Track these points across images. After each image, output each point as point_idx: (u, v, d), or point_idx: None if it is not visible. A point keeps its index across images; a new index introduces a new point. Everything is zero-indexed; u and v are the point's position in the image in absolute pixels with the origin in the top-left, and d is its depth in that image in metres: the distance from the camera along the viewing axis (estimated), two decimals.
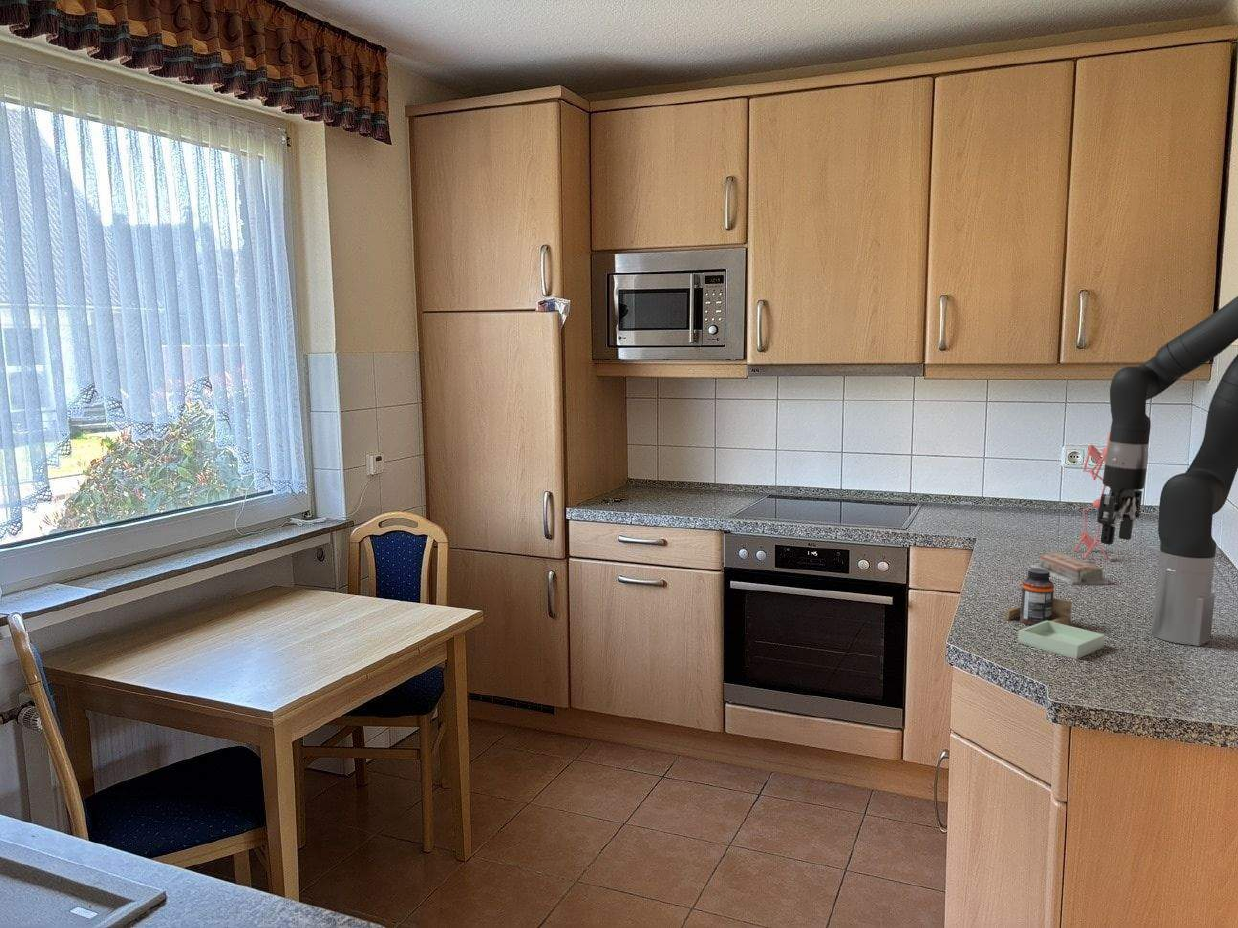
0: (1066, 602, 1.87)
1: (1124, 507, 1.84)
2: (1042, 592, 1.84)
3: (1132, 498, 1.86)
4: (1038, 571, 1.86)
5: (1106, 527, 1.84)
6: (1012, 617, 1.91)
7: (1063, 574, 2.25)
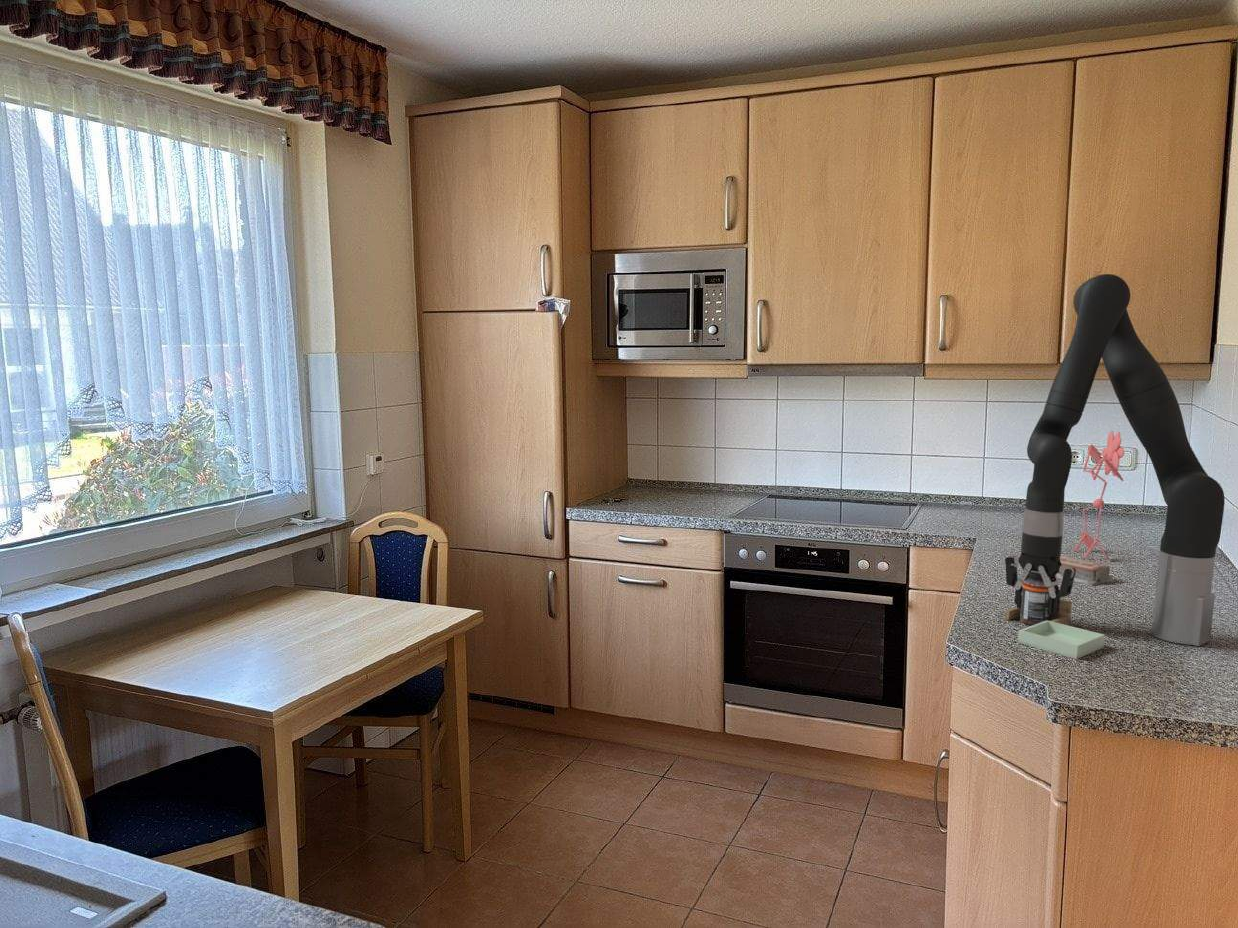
0: (1066, 602, 1.87)
1: None
2: (1042, 592, 1.84)
3: None
4: (1038, 571, 1.86)
5: (1058, 599, 1.84)
6: (1012, 617, 1.91)
7: None
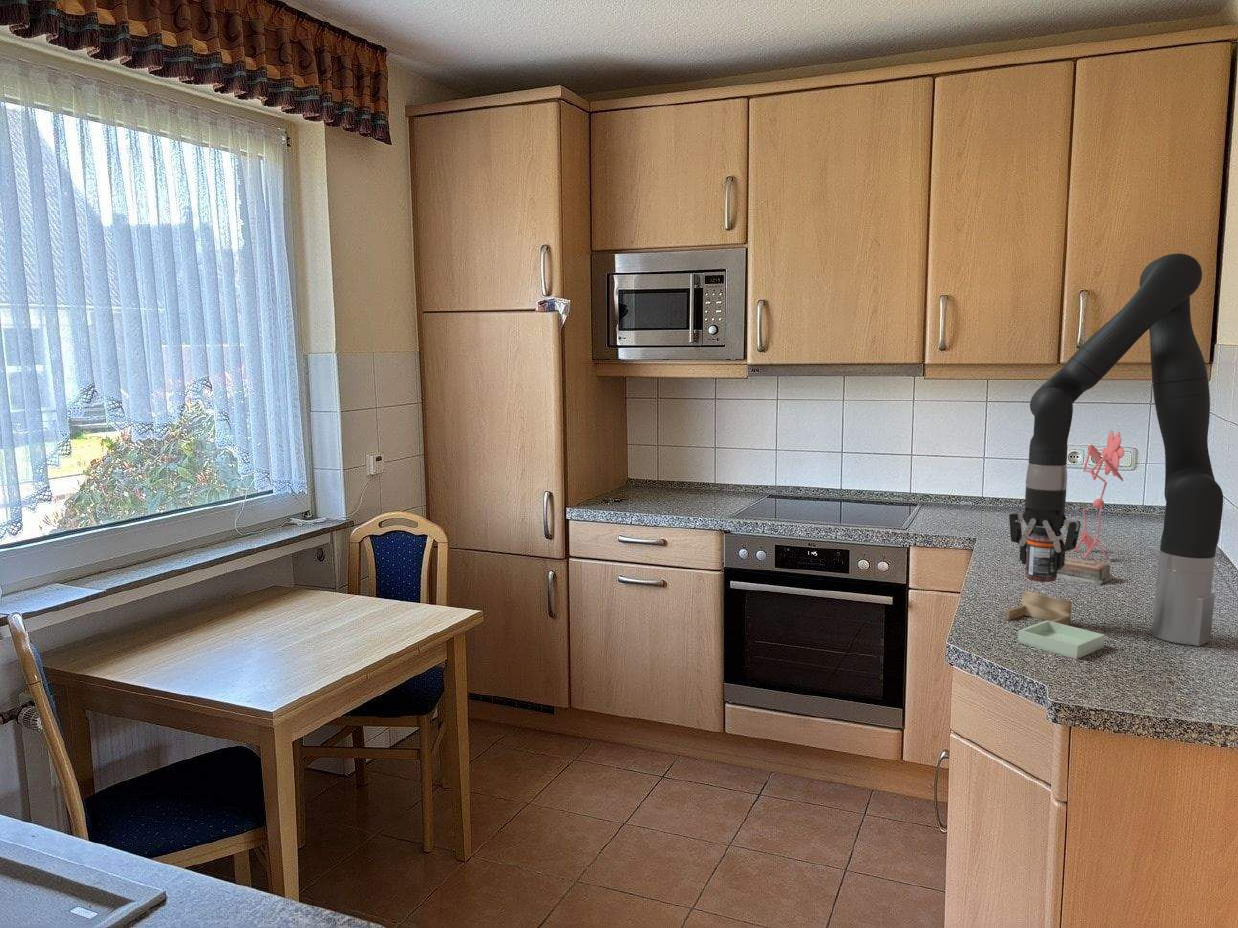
0: (1066, 602, 1.87)
1: None
2: (1047, 547, 1.83)
3: None
4: (1043, 526, 1.84)
5: (1063, 553, 1.83)
6: (1012, 617, 1.91)
7: (1077, 575, 2.24)
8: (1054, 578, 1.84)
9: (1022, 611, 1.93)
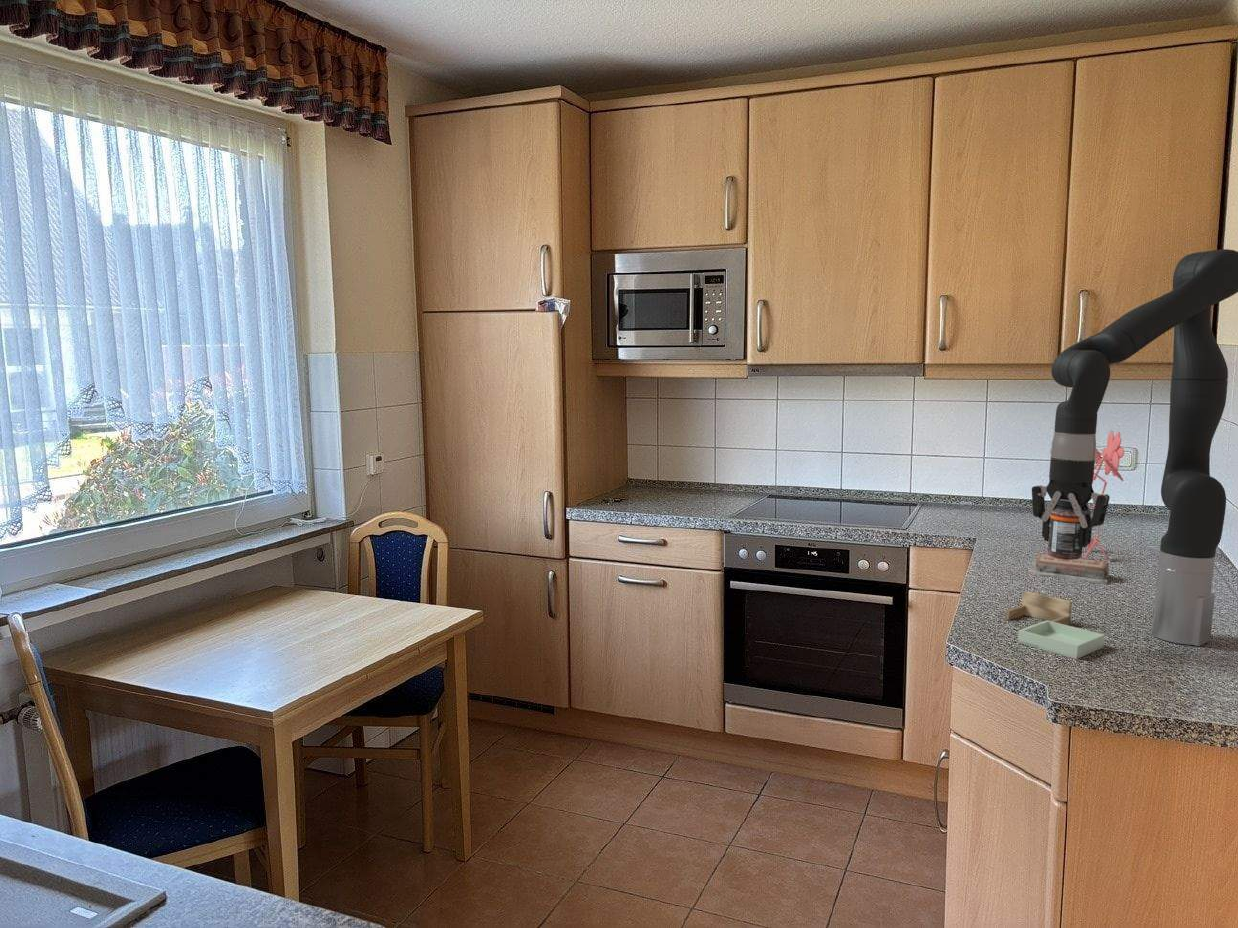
0: (1066, 602, 1.87)
1: None
2: (1073, 522, 1.70)
3: None
4: None
5: (1090, 529, 1.69)
6: (1012, 617, 1.91)
7: (1081, 575, 2.25)
8: (1079, 556, 1.71)
9: (1022, 611, 1.93)
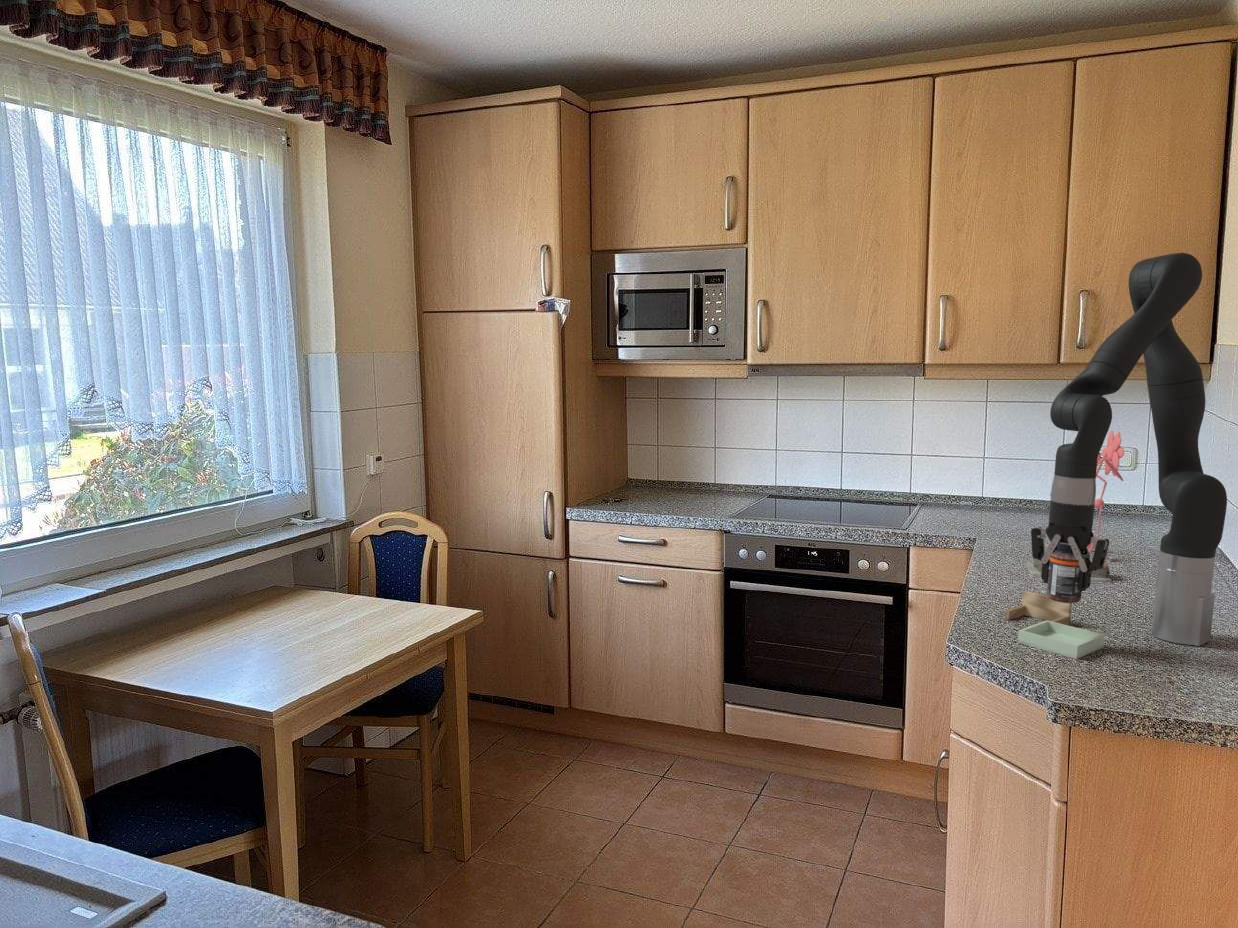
0: None
1: None
2: (1072, 566, 1.69)
3: None
4: (1068, 543, 1.71)
5: (1089, 573, 1.69)
6: (1012, 617, 1.91)
7: None
8: (1078, 599, 1.71)
9: (1022, 611, 1.93)
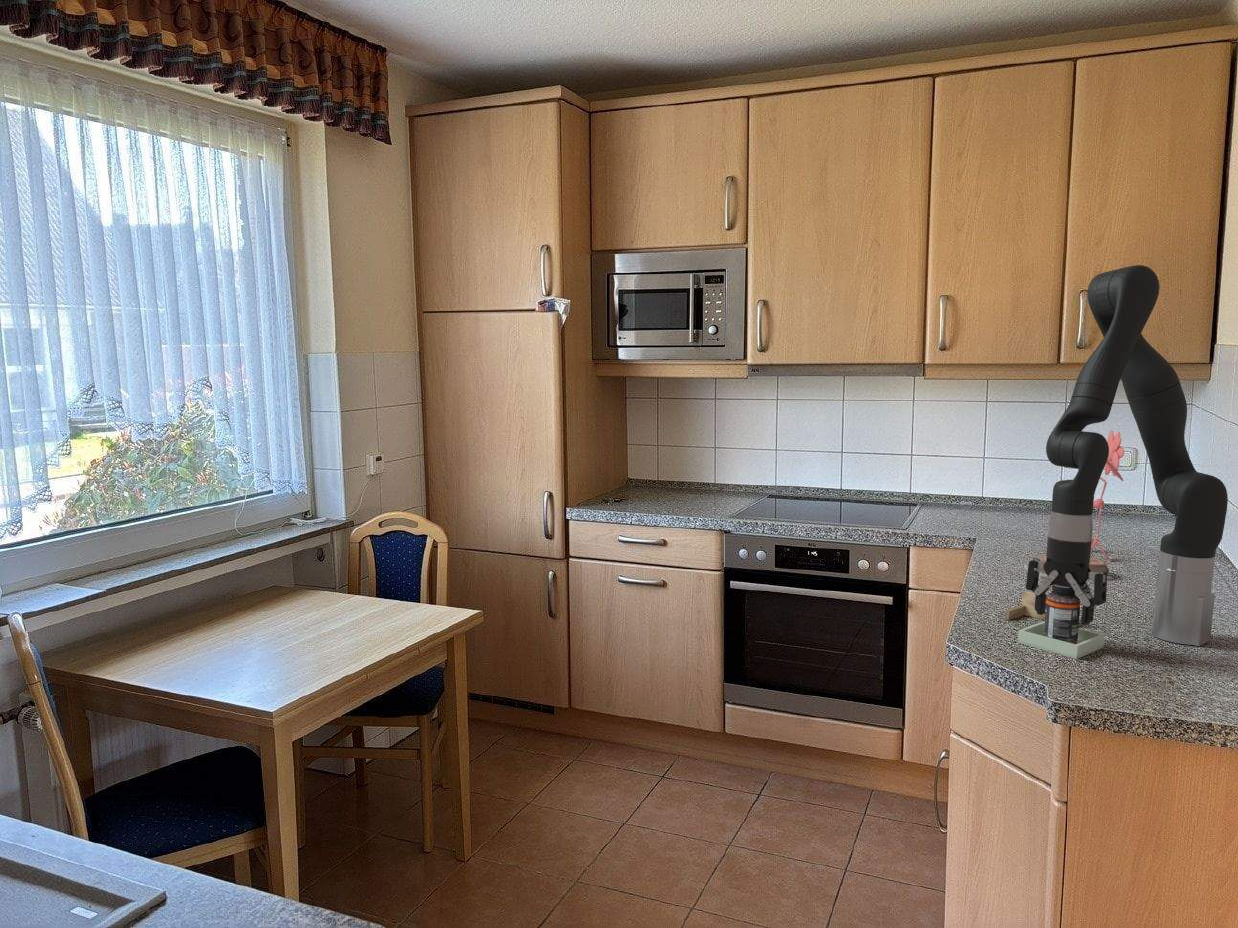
0: None
1: None
2: (1069, 609, 1.70)
3: None
4: (1063, 586, 1.72)
5: (1092, 607, 1.69)
6: (1012, 617, 1.91)
7: None
8: (1075, 641, 1.72)
9: (1022, 611, 1.93)
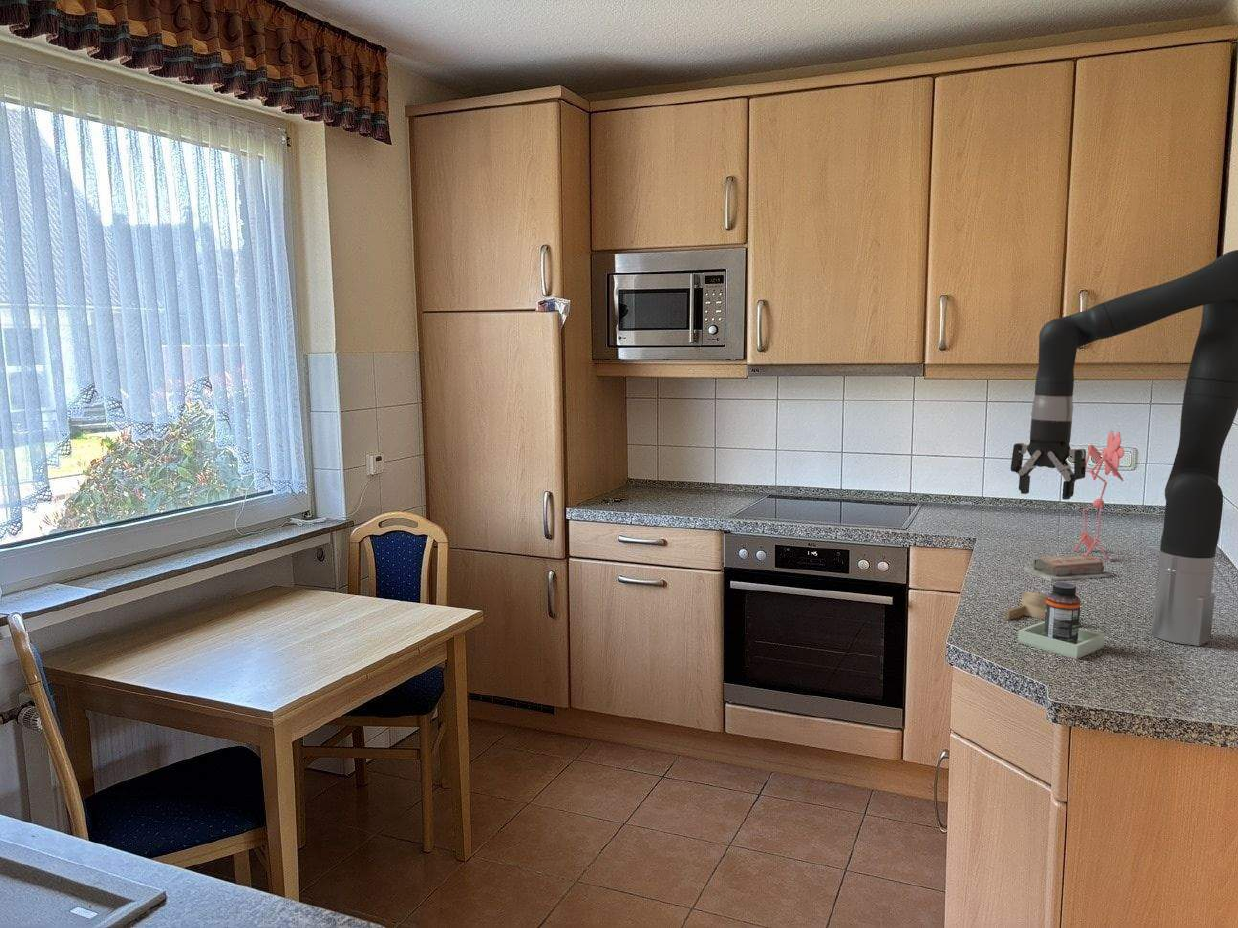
0: None
1: None
2: (1069, 609, 1.70)
3: None
4: (1064, 586, 1.72)
5: (1072, 482, 1.82)
6: (1012, 617, 1.91)
7: (1088, 572, 2.27)
8: (1075, 642, 1.72)
9: (1022, 611, 1.93)
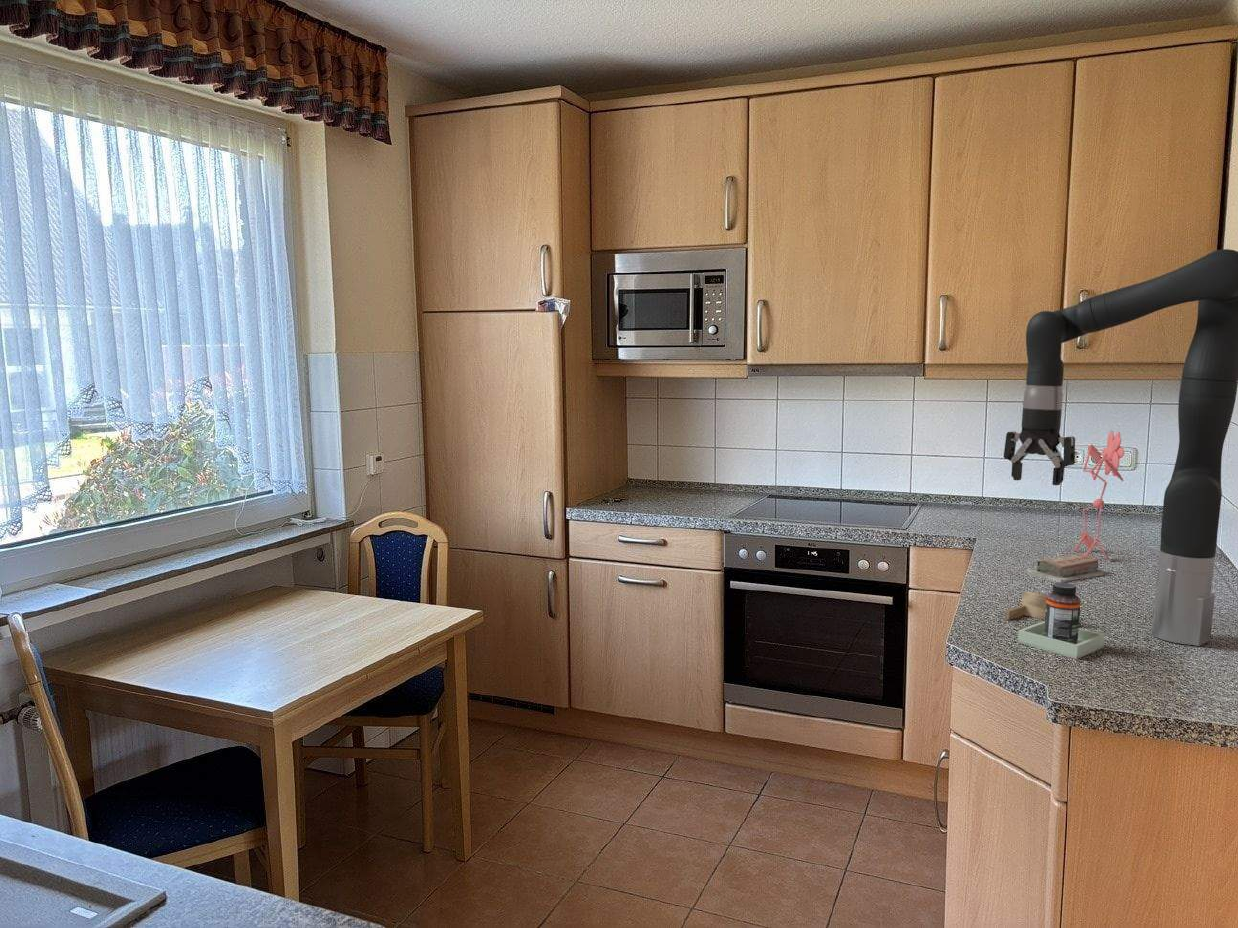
0: None
1: None
2: (1069, 609, 1.70)
3: None
4: (1064, 586, 1.72)
5: (1062, 468, 1.90)
6: (1012, 617, 1.91)
7: (1087, 571, 2.28)
8: (1075, 642, 1.72)
9: (1022, 611, 1.93)
